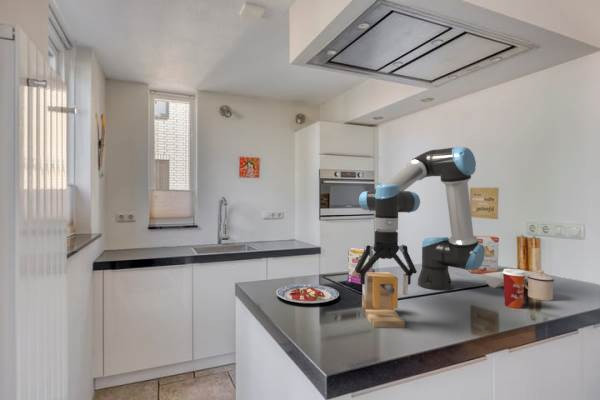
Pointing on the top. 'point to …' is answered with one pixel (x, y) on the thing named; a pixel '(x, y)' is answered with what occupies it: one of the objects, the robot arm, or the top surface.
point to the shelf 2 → (499, 278)
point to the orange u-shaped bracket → (376, 290)
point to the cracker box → (488, 254)
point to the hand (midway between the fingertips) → (385, 294)
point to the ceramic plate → (307, 293)
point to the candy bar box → (353, 260)
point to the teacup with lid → (540, 286)
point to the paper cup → (513, 287)
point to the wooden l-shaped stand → (385, 313)
